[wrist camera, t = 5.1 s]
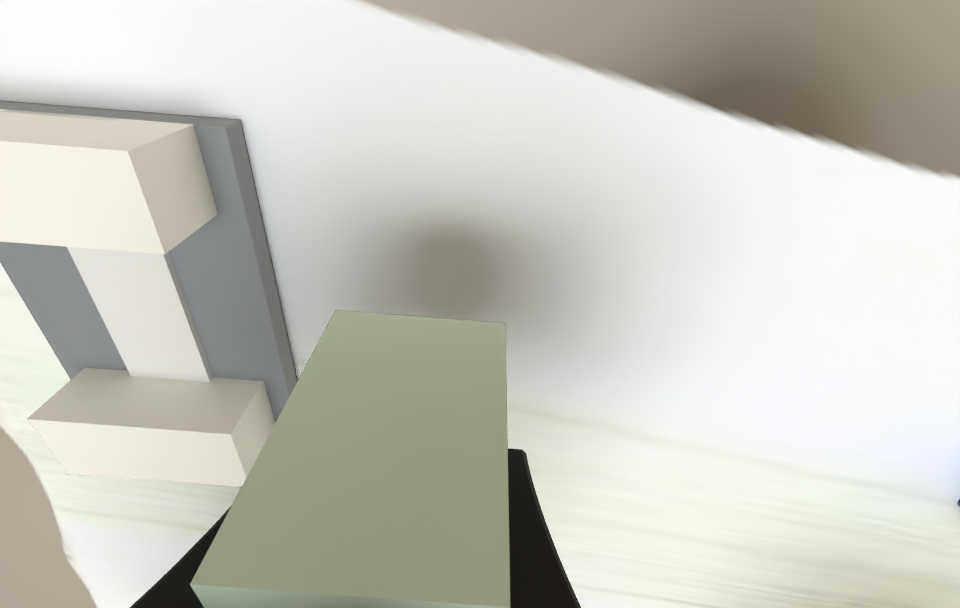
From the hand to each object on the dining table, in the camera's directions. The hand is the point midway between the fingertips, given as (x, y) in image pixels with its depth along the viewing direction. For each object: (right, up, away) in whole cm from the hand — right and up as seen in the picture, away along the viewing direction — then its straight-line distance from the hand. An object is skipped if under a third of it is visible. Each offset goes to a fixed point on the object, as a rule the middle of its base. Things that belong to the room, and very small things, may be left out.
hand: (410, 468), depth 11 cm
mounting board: (-12, +4, +8) cm, 15 cm away
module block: (0, +1, +1) cm, 2 cm away
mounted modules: (-12, +4, +7) cm, 14 cm away
